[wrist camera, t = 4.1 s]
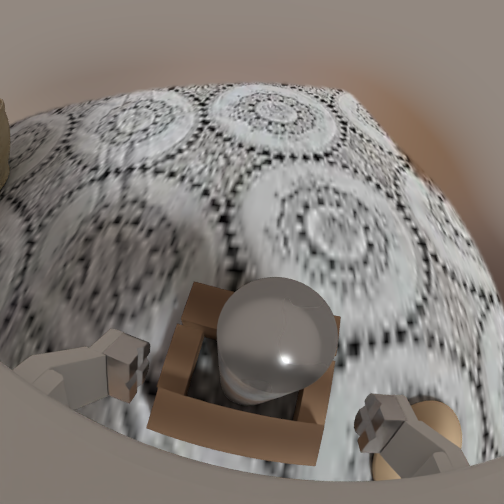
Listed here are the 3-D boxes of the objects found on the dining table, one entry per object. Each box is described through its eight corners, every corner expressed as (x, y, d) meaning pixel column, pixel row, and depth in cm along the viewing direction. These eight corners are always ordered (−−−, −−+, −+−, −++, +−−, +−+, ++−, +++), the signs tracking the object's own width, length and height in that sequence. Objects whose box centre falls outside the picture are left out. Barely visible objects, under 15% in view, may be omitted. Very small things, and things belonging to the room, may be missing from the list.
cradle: (309, 460, 17) (322, 466, 14) (150, 424, 17) (139, 425, 15) (333, 330, 23) (346, 318, 20) (191, 296, 23) (187, 279, 21)
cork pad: (411, 519, 13) (415, 520, 12) (349, 466, 16) (352, 467, 16) (470, 437, 17) (474, 436, 16) (421, 379, 20) (424, 378, 20)
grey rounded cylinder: (243, 416, 18) (274, 419, 7) (209, 375, 20) (191, 321, 9) (284, 383, 20) (359, 337, 9) (250, 345, 21) (283, 257, 11)
